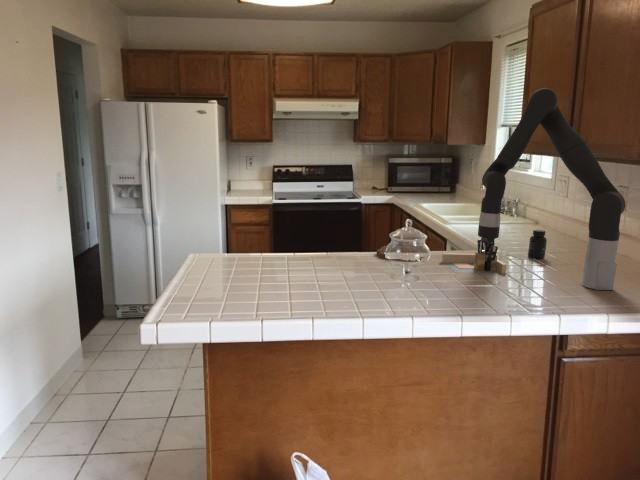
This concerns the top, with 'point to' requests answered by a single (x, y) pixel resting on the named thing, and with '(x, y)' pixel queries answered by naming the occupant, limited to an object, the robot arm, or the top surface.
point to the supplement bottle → (537, 245)
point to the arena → (468, 263)
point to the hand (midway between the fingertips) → (484, 268)
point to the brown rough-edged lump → (381, 252)
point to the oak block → (483, 262)
